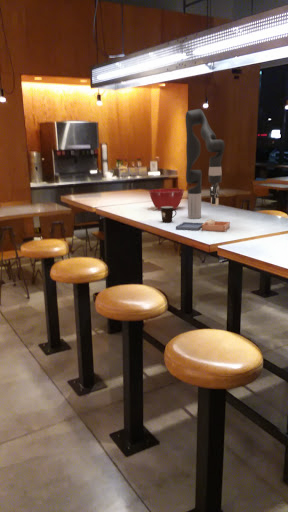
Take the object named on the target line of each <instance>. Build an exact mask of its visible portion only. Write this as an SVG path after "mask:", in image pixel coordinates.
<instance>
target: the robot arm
mask: <svg viewBox="0 0 288 512" xmlns="http://www.w3.org/2000/svg"><path fill="white" fill-rule="evenodd" d="M198 125H201V127H200V136H201V138H202V139H203V141H204V142H205V147H206V150H207V151H208V152H210V153H215V155H213V156H210V157H209V159H208V161H209V162H208V163H209V164H208V165H209V167H208V183H209V184H211V186H210V187H209V196H210V199H211V198H212V204H216V198H218V199H219V195H220V189H221V188H220V187H221V185H219V184H221V183H222V179H223V178H222V177H223V175H222V174H223V173H222V159H223V154H224V152H225V147H226V144H225V141H224V140H223V139H217V135H216V134H215V132H214V131H213V130H212V128H211V126H210V124H209V122H208V119H207V116H206V115H205V113H204V111H203V110H202V109H201V108H197V109H191V110H188V111H186V113H185V129H186V132H185V133H186V143H185V144H186V154H185V155H186V167H185V168H186V169H185V170H186V171H185V181H186V183H187V184H196V185H195V186H192V187H191V188H189V189H188V190H187V218H188V219H201V218H202V180H203V179H202V178H203V177H202V176H203V173H202V170H201V169H192V167H193V165H194V164H195V163H196V161H197V160H198V158H199V157H200V154H201V141H200V140H199V138H198V136H196V135H195V133H194V129H193V126H198Z"/></svg>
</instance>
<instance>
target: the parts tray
mask: <svg viewBox="0 0 288 512" xmlns="http://www.w3.org/2000/svg"><path fill="white" fill-rule="evenodd" d="M204 223H205V222H190V221H189V222H188V221H183V222H181V223H179V224H177V225H175V230H178V231H194V232H195V231H197V232H198V231H199V230H202V224H204Z"/></svg>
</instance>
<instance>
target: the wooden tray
mask: <svg viewBox="0 0 288 512" xmlns="http://www.w3.org/2000/svg"><path fill="white" fill-rule="evenodd" d="M203 223H204V224H202V228H201V231H202V232H218V233H219V232H220V233H225V232H226V231H228V229H229V228H231V226H230V225H231V222H230V221H218V220H217V221H216V220H215V225H207V221H205V222H203Z"/></svg>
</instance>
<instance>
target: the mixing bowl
mask: <svg viewBox="0 0 288 512" xmlns="http://www.w3.org/2000/svg"><path fill="white" fill-rule="evenodd" d="M184 191H185V189H182V188H155V189H150V190H148V192H149V196H150V199H151V202H152V205H153V206H154V207H155V208H156V209H157V210H159V211H161V207H164V206H171V207H173V210H175V209H177V208H178V207H179V205H180V203H181V202H182V200H183V196H184Z"/></svg>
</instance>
